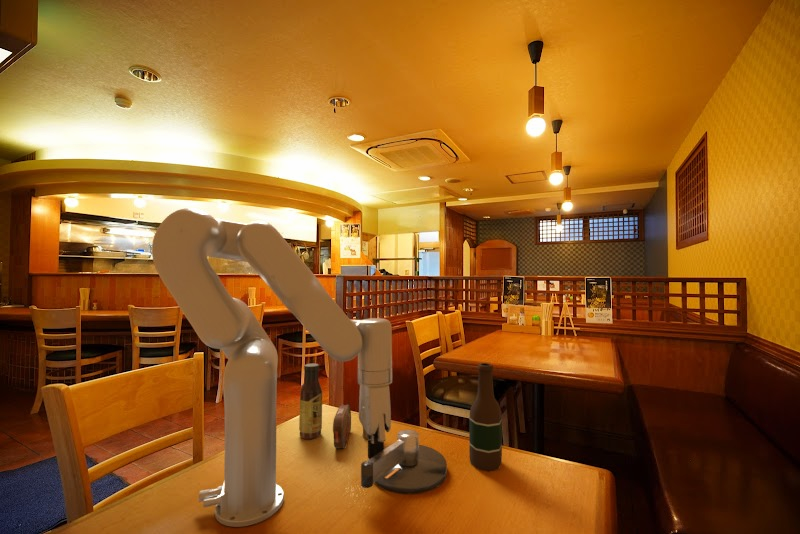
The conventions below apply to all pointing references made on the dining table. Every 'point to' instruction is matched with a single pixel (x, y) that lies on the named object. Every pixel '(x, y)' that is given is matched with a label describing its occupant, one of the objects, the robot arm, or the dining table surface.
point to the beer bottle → (485, 424)
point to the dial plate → (416, 474)
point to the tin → (342, 426)
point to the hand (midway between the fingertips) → (375, 458)
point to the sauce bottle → (310, 404)
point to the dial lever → (391, 457)
